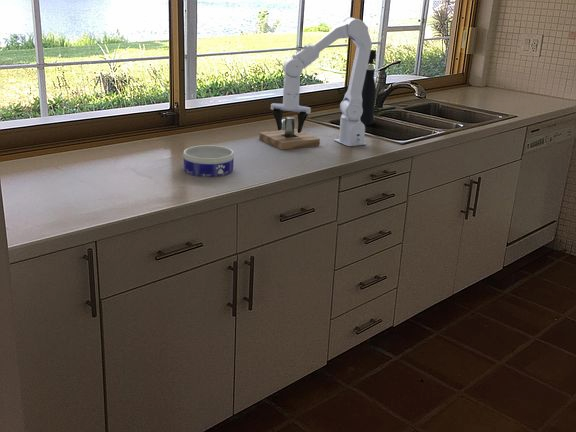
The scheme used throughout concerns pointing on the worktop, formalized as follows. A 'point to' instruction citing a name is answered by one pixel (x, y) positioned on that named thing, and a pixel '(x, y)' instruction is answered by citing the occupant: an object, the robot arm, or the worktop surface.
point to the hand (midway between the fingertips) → (289, 131)
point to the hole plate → (289, 139)
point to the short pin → (283, 124)
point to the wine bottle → (369, 92)
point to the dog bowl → (208, 161)
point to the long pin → (289, 127)
